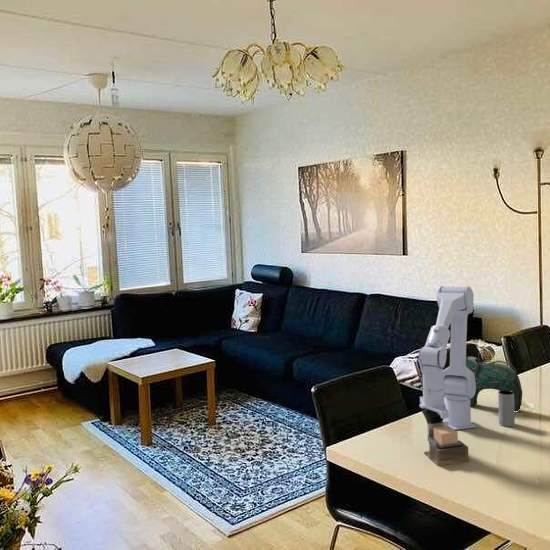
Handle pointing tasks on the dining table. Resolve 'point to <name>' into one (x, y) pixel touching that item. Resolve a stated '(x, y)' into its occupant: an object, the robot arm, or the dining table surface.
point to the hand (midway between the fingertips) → (434, 435)
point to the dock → (448, 454)
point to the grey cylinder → (506, 408)
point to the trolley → (442, 435)
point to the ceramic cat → (494, 378)
